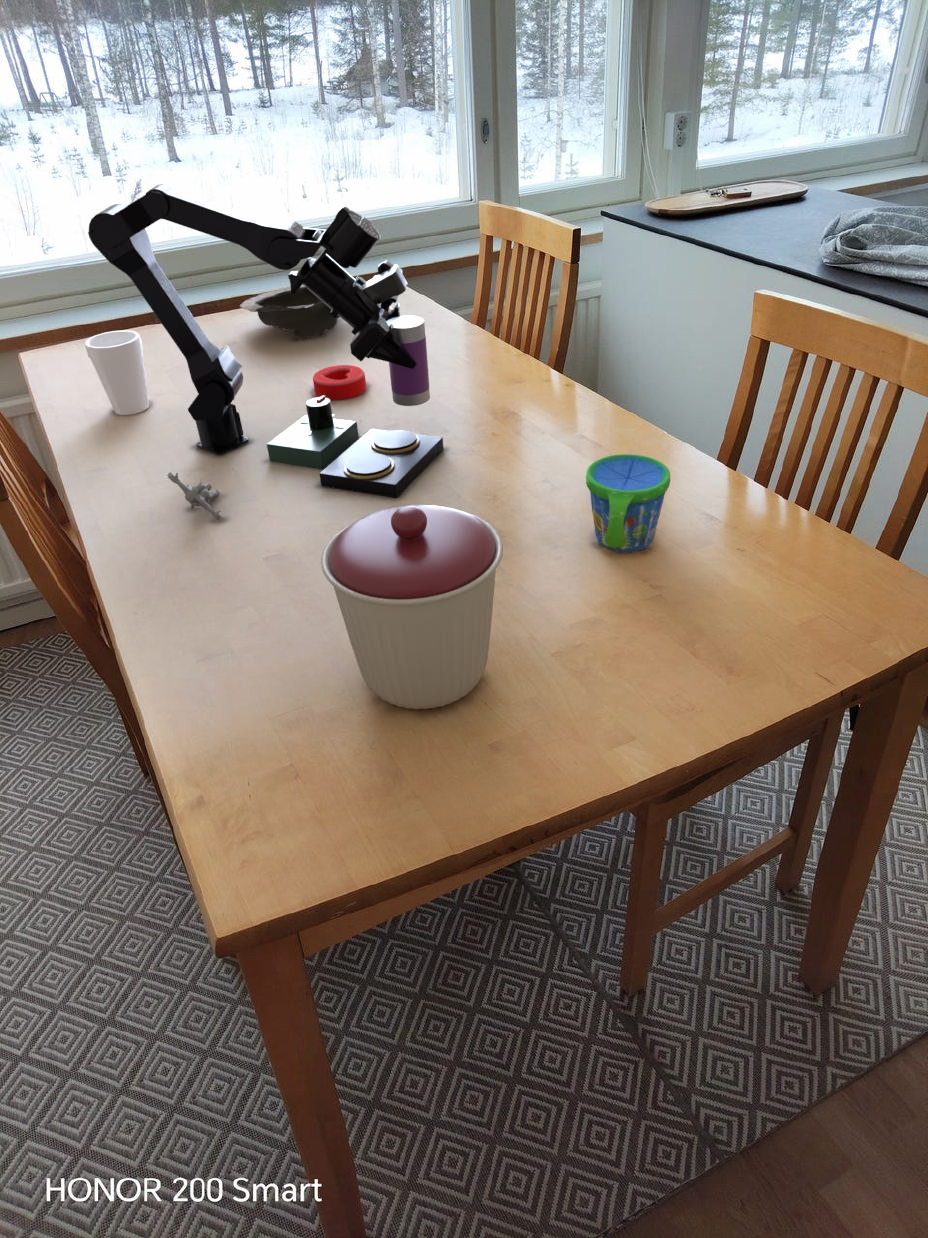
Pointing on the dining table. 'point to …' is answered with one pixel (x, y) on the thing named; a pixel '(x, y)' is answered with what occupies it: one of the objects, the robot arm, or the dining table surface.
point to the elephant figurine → (198, 495)
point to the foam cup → (120, 369)
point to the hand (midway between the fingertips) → (416, 358)
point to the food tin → (405, 381)
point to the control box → (312, 443)
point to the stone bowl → (292, 311)
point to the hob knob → (319, 413)
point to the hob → (382, 462)
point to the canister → (416, 600)
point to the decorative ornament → (339, 382)
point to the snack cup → (626, 500)
